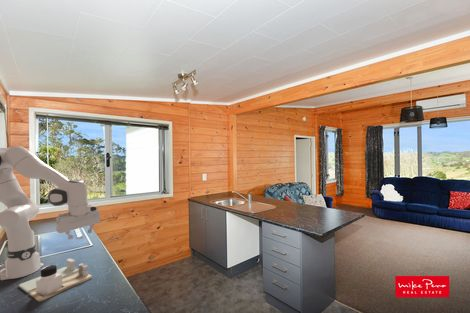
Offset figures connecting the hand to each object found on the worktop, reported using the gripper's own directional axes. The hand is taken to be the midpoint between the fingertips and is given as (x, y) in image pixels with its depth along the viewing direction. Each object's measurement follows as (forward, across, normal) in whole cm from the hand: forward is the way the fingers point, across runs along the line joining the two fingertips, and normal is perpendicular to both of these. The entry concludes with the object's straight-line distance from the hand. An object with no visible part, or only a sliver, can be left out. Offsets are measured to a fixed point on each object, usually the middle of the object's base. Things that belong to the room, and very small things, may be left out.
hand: (80, 235), depth 124 cm
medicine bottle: (+22, -15, 0) cm, 27 cm away
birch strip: (+22, -10, 0) cm, 24 cm away
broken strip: (+22, -10, +14) cm, 28 cm away
